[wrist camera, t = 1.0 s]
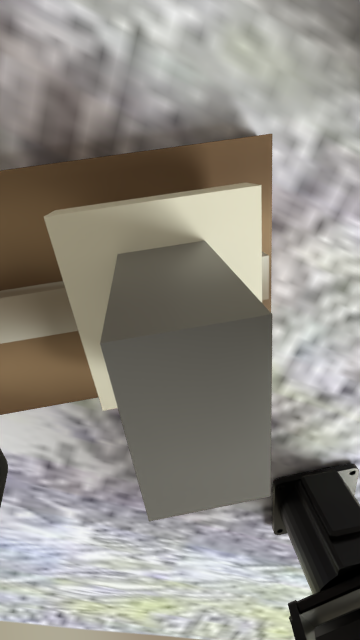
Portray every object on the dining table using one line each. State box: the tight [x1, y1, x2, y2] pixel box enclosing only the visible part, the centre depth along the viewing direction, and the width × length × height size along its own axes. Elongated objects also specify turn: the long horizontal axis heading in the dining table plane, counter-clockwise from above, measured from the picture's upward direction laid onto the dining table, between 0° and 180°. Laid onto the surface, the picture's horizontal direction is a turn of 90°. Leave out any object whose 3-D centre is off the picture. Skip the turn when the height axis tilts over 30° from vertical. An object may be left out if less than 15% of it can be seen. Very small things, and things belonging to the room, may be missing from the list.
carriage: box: [44, 183, 272, 521], centre depth 10 cm, size 8×7×8 cm
